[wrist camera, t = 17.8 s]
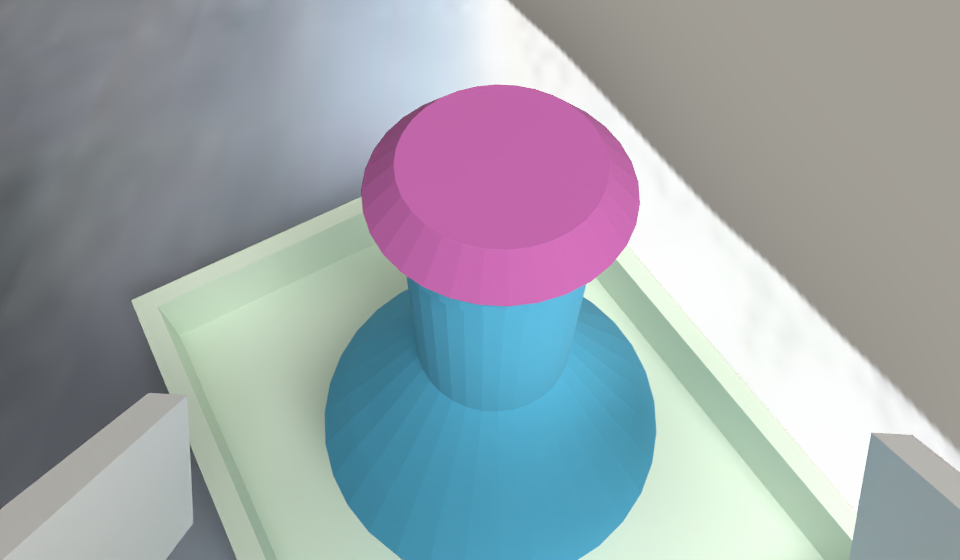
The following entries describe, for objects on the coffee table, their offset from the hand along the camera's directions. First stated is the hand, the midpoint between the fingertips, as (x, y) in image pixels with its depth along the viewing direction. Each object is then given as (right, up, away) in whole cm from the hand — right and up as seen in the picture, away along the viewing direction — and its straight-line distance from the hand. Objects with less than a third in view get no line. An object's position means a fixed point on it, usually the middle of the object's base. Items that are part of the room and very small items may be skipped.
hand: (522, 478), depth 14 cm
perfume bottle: (-1, -2, +10) cm, 11 cm away
